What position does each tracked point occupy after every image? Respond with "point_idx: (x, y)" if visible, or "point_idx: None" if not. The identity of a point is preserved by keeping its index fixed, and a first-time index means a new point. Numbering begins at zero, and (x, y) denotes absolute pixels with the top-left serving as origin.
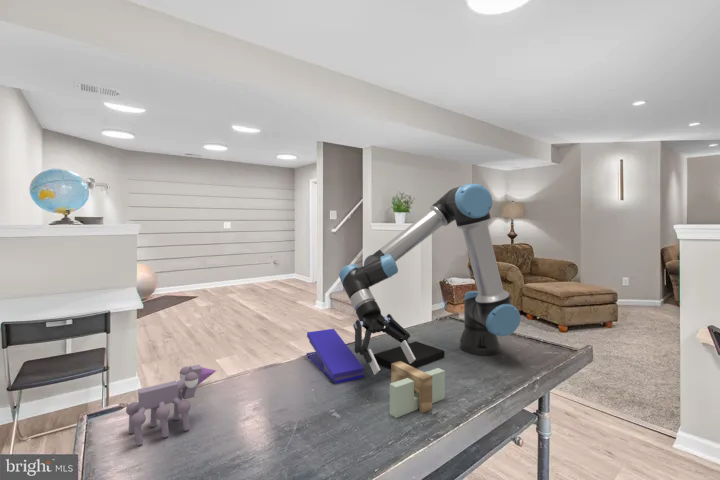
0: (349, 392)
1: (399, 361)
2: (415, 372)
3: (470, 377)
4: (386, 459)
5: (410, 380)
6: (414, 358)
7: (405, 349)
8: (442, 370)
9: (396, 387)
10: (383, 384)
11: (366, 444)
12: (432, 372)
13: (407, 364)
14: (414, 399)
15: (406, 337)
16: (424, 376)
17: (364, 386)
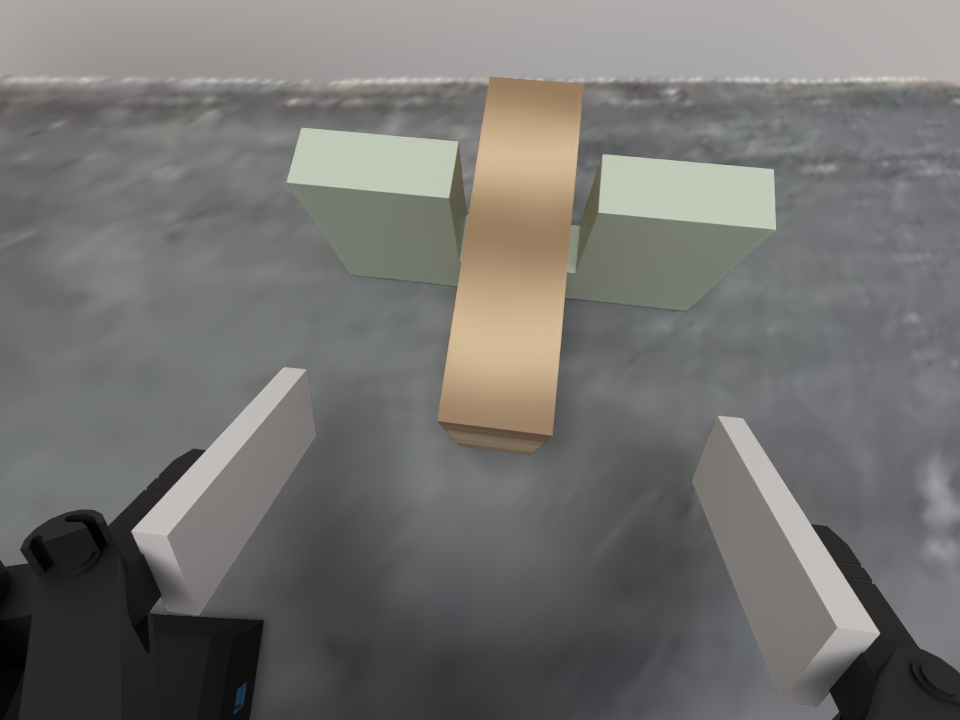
0: (733, 666)
1: (452, 418)
2: (532, 179)
3: (37, 282)
4: (899, 114)
5: (614, 174)
6: (291, 373)
7: (244, 494)
8: (307, 140)
9: (766, 170)
10: (474, 586)
11: (922, 214)
12: (389, 160)
13: (453, 322)
14: (575, 225)
15: (82, 531)
16: (536, 102)
17: (595, 662)
